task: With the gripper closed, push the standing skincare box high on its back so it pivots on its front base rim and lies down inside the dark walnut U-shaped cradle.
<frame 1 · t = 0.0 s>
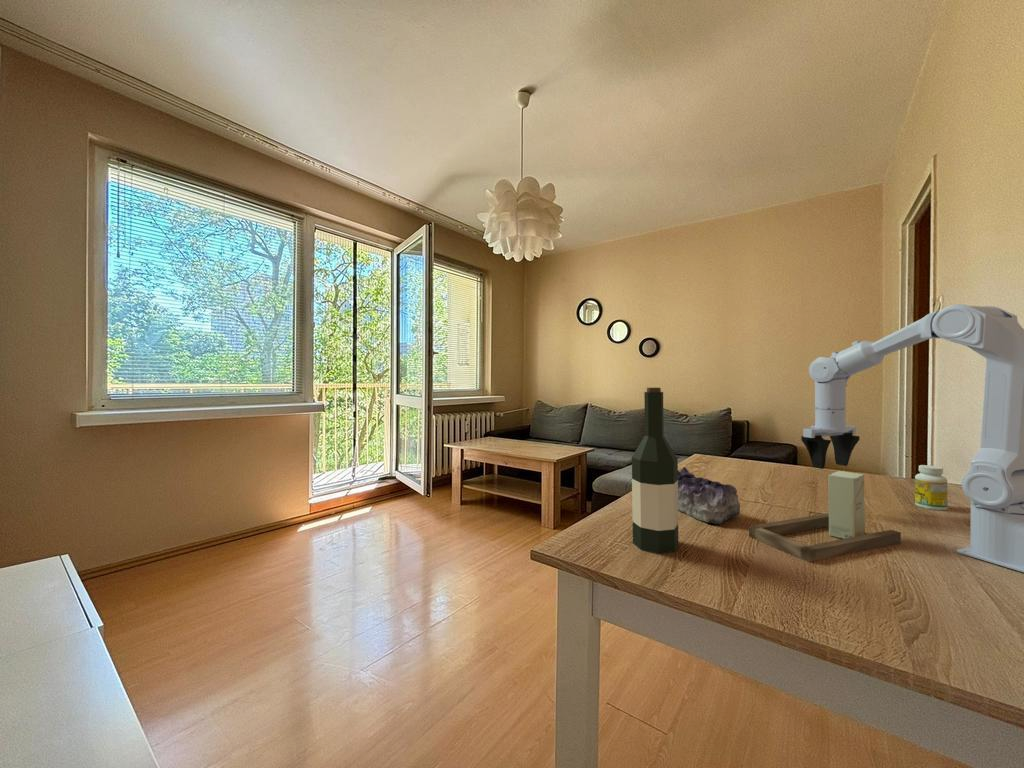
hand: (830, 466, 96), 10 cm above the table, fingers open, 7 cm apart
skincare box: (846, 536, 81), on the table
wine bottle: (655, 545, 78), on the table
cradle: (822, 539, 79), on the table
supplement bottle: (930, 507, 96), on the table
geode: (695, 512, 97), on the table
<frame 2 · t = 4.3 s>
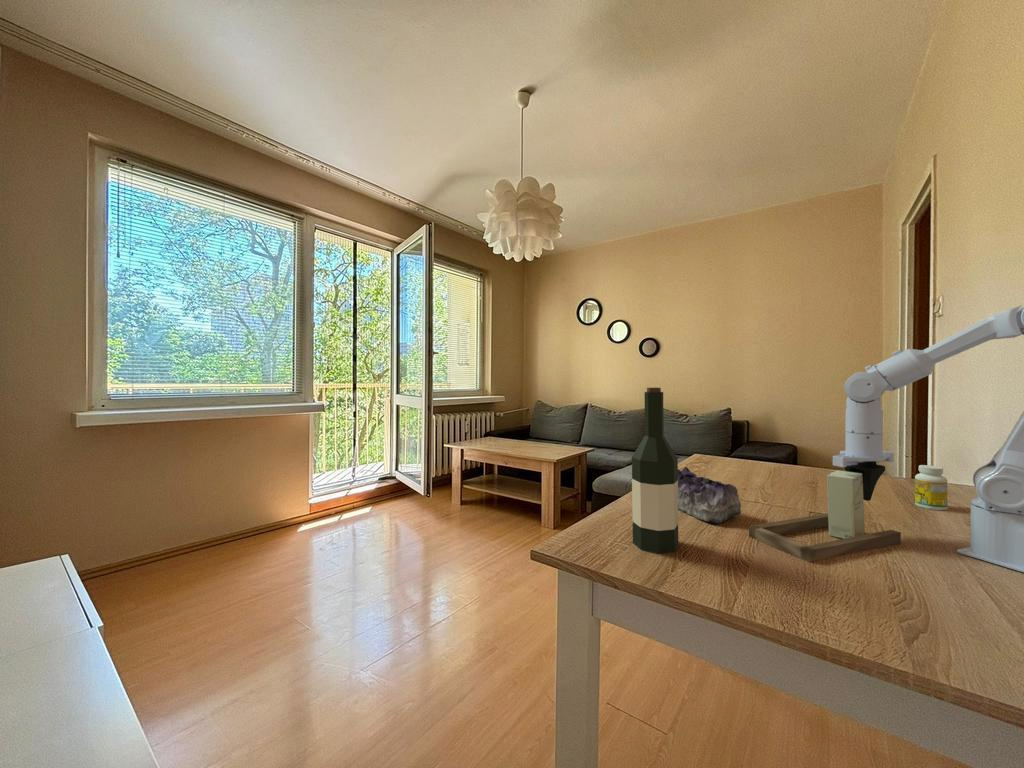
hand: (863, 499, 82), 7 cm above the table, fingers closed
skincare box: (846, 535, 81), on the table, touching gripper
everything else where it was.
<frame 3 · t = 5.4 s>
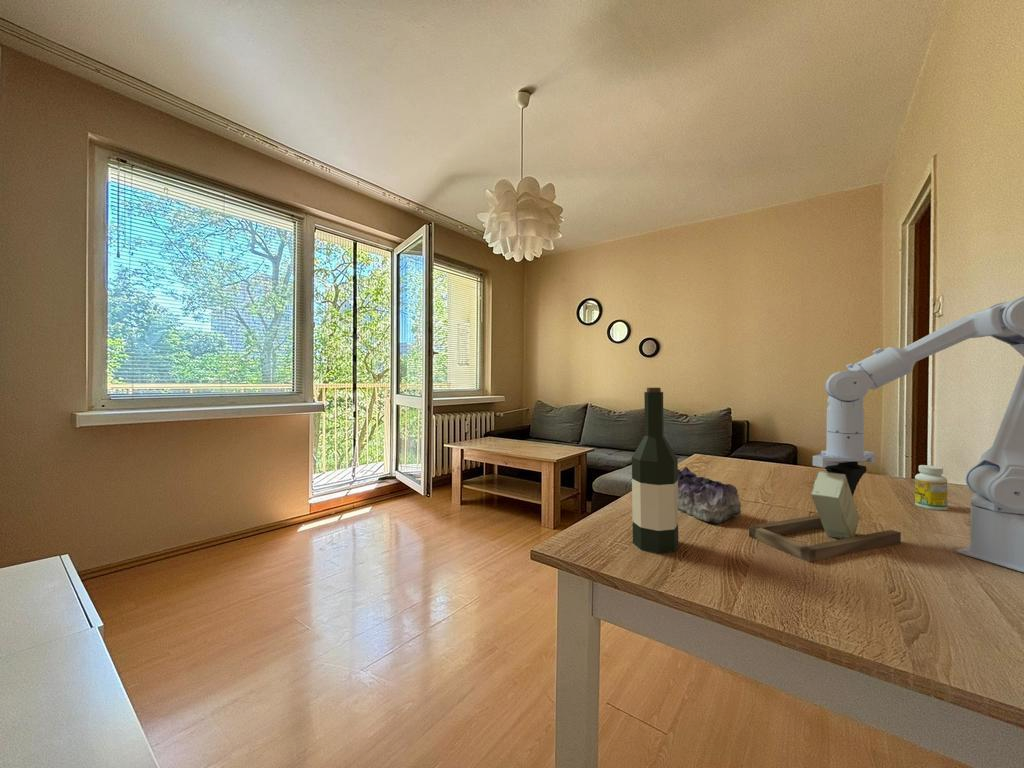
hand: (844, 500, 80), 7 cm above the table, fingers closed, pressing on skincare box
skincare box: (843, 526, 81), point 2 cm above the table, touching gripper
everything else where it was.
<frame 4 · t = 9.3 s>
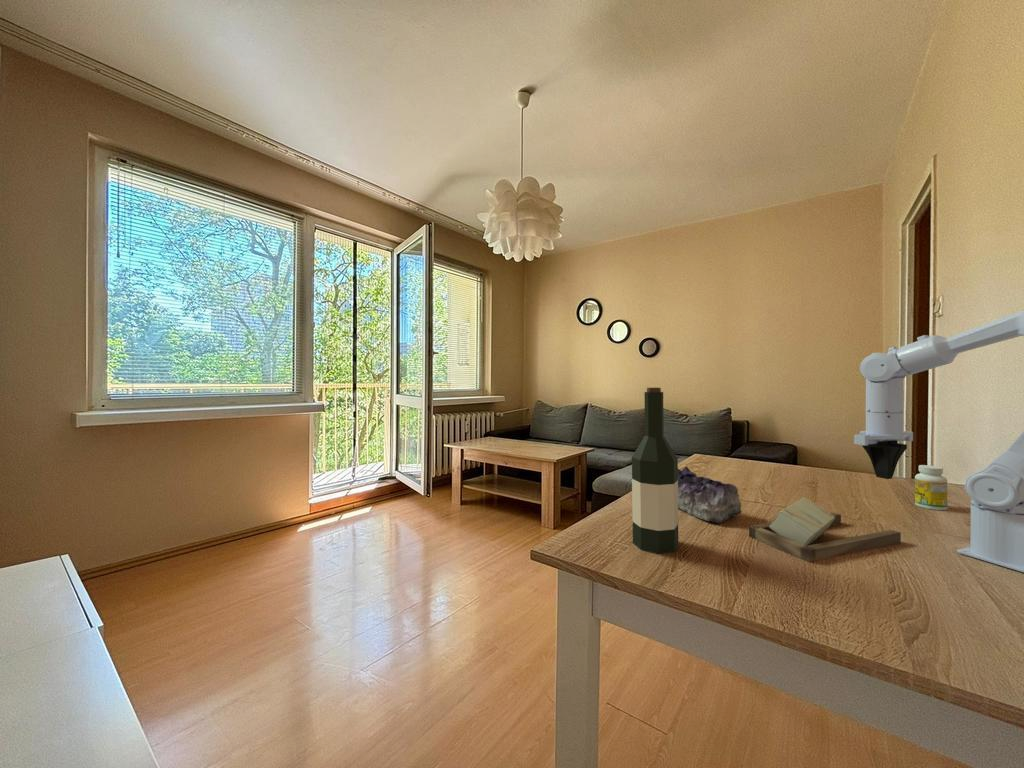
hand: (884, 477, 84), 10 cm above the table, fingers closed
skincare box: (813, 514, 82), point 4 cm above the table, touching cradle
everything else where it was.
at the end: skincare box tilted 92°; skincare box inside the target area on the cradle (3.4 cm from its centre), point 3.6 cm above the cradle's base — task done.
